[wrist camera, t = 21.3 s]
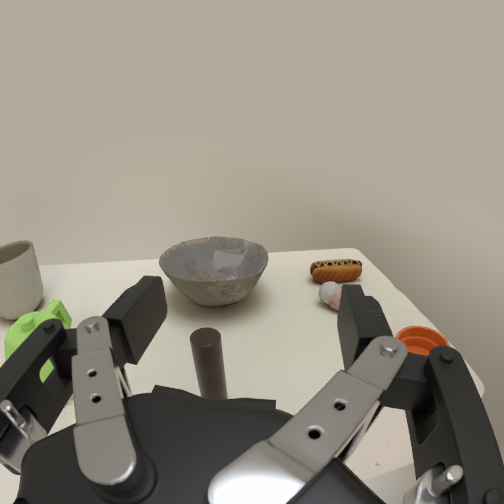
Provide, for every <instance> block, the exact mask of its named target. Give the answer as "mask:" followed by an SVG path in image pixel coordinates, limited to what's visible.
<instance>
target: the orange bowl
mask: <svg viewBox="0 0 504 504" xmlns="http://www.w3.org/2000/svg"><path fill="white" fill-rule="evenodd" d="M396 338H397V339H399V340H401V341H402V342H403V343H404V344H405V345H406V347H407V349H408V352H411V353H415V354H420V355H426V356H428V355H429V353H430V351H431V349H432V348H434V347H436V346H449V347H450V345H449V343H448V341H447V340H446V339H445V338H444V337H443V336H442V335H441V334H440V333H438V332H437V331H435V330H433V329H430V328H427V327H422V326H410V327H406V328H404V329H402V330H401V331H399V332H398V334H397V336H396Z"/></svg>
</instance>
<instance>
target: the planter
mask: <svg viewBox="0 0 504 504" xmlns="http://www.w3.org/2000/svg"><path fill="white" fill-rule="evenodd" d="M42 296H43V285H42V280H41V275H40V271H39V267H38V264H37V259H36V255H35V251H34V247H33V243H32V242H30V241H17V242H13V243H9V244H6V245H4V246H1V247H0V316H1V317H3V318H5V319H9V320H17V319H19V318H20V317H21V316H22V315H24V314H27V313H29V312H33V311H34V310H35V309H36V308H37V307H38V305H39V304H40V302H41V299H42Z"/></svg>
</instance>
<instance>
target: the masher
mask: <svg viewBox="0 0 504 504" xmlns="http://www.w3.org/2000/svg"><path fill="white" fill-rule="evenodd" d="M190 343H191V348H192V353H193V359H194V364H195V369H196V374H197V379H198V384H199V388H200V393H201V397H202V398H205V399H208V400H226V399H228V397H227V389H226V380H225V371H224V362H223V352H222V343H221V335H220V333H219V332H218V331H217V330H215V329H213V328H201V329H198V330H196V331H194V332H193V333H192V334H191V336H190Z"/></svg>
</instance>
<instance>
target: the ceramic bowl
mask: <svg viewBox="0 0 504 504" xmlns="http://www.w3.org/2000/svg"><path fill="white" fill-rule="evenodd" d="M267 263H268V254H267V251H266V250H265V249H264V248H263V246H261V245H259V244H257V243H254V242H250V241H247V240H243V239H237V238H226V237H209V239H208V238H207V237H205V238H201V239H194V240H189V241H185V242H182V243H180V244H178V245H175V246H173V247H171V248H170V249H168V250H167V251H165V254H162V256H161V257H160V260H159V265H160V267H161V269H162V270H163V271H164V273H165V274H166V275H167V277H168V278H169V279H170V280H171V282H172V283H173V284H174V285H175V286H176V287H177V288H178V290H179V291H181V292H182V293H183V294H184V295H186V296H187V297H188V298H190V299H191V300H193V301H194V302H196V303H198V304H200V305H203V306H222V305H228V304H234V303H237V302H239V301H241V300H242V299H243V298H245V296H246V295H247V294H248V293H249V292H250V291H251V290H252V289H253V287H254V286H255V285H256V283H257V282H258V280H259V278H260V276H261V274H262V273H263V271H264V269H265V267H266V265H267Z"/></svg>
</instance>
